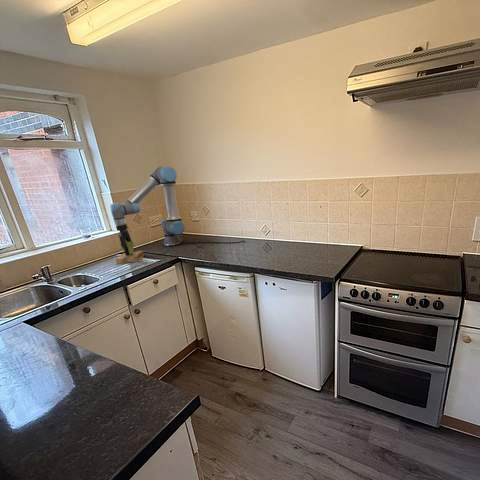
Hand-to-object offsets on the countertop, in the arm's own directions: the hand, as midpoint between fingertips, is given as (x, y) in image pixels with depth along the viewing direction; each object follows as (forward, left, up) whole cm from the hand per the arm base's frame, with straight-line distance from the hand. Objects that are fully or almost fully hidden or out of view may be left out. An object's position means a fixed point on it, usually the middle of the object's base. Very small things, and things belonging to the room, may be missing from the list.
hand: (129, 253), depth 231 cm
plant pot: (0, 0, 0) cm, 0 cm away
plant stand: (0, 0, -5) cm, 5 cm away
